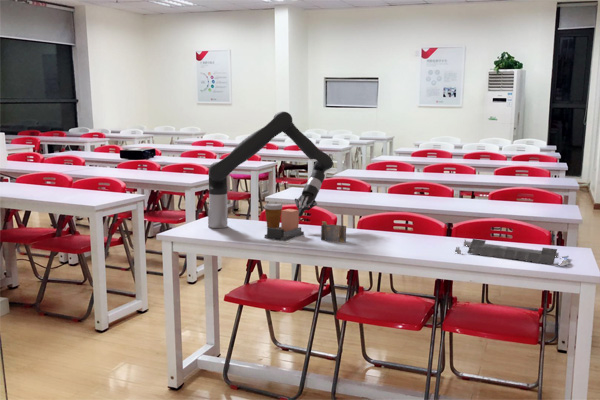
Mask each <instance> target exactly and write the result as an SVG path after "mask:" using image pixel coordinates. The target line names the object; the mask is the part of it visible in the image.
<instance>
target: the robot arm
mask: <svg viewBox="0 0 600 400" xmlns="http://www.w3.org/2000/svg"><path fill="white" fill-rule="evenodd" d="M281 133H284V134H285V135H286V136H287V137H288V138H290V139H291V140H292V141H293V143H294V144H295V145H296V146H297V148H298V149H300V151H301V152H302V153H303V154H304V155H305V156H306V157H307V158H308V159H310V160H315V161H316V162H315V163H314V164H313V167H312V173H311V175H310V176H309V178H308V179H307V181H306V183H305V186H304V187H303V190H302V191H301V194H300V196H299V197H298V198H297V197H296V198H294V203H295V206H296V208H297V210H299V218H300V217H302V216H303V215H304V213H305V211H310V210H311V209H313V208H314V207H315V206H317V205H318V203H317V201H316V198H317V196H318V194H319V192H320V190H321V187H322V184H323V183H324V180H325V177H326V175H325V172H326V171H328V170H331V168H332V167H333V166H334V161H333V159H332V157H331V156H330V155H328V153H326V152H324V151H323V150H321V149H319V147H318V146H317V145H316V144H315V143H314V142H313V141H312V140H311V139H309V138H308V136H306V135H305V134H304V133H302V132H301V130H299V129H298V127H297V126H296V125H295V123H294V122H293V116H292V115H291V114H290V113H289V112H287V111H279V112H276V113H275V115H274V116H273V118H272V119H271V120H270V121H269V122H268V123H267V124H266V125H264V126H263V127H262V128H260V129H257V130H256V131H254V132H252V133H251V134H250V135H248V136H247V137H245V138H244V139H243V140H242V141H241V142H239V144H237V146H235V147H234V148H233V150H232V151H231V152H230V153H229V154H228V155H227V156H225V157H223V158H222V159H220V160H219V161H215V162H213V163H212V164H210V166H209V168H208V200H209V201H208V202H209V203H208V208H207V209H208V210H207V219H208V220H207V224H208V228H212V229H224V228H227V227H228V178H227V177H228V176H229V175H230V174H231V173H232V172H233V171H234V170H236V168H237V167H238V166H240V165H242V164H243V163H244V162H246V161H248V160H249V159H251V158H252V157H253V156H255V155H256V154H257V153H258V152H260V151H261V150H262V149H263V148H264V147H265V146H267V144H269V142H271V141H272V140H273V139H274V138H275V137H277V136H278V135H280V134H281Z"/></svg>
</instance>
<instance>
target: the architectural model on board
mask: <svg viewBox="0 0 600 400" xmlns="http://www.w3.org/2000/svg"><path fill="white" fill-rule="evenodd" d="M321 223H322V224H321V225H320V226H321V228H320V229H321V230H320V240H321V241H323V240H325V241H326V242H335V243H345V242H347V226H346V225H340V224H338V225H337V224H328V223H327V221H322V220H321Z"/></svg>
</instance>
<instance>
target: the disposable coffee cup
mask: <svg viewBox="0 0 600 400" xmlns="http://www.w3.org/2000/svg"><path fill="white" fill-rule="evenodd" d="M263 207H264V210H265V220H266V221H265V222H266V228H269V227H271V228H280V226H281V225H280V224H281V211H282V210H283V204H282V203H279V202H269V203H268V202H267V203H264V206H263Z"/></svg>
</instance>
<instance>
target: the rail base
mask: <svg viewBox="0 0 600 400" xmlns="http://www.w3.org/2000/svg"><path fill="white" fill-rule="evenodd" d="M303 235H305V231H303V230H302V226H298V228H295V229H292V230H288V231H284V229H281V226H279V228H271V227H269V228H268V227H266V234H264V239H269V240H276V241H283V242H284V241H288V240H291V239H294V238H297V237H301V236H303Z"/></svg>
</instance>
